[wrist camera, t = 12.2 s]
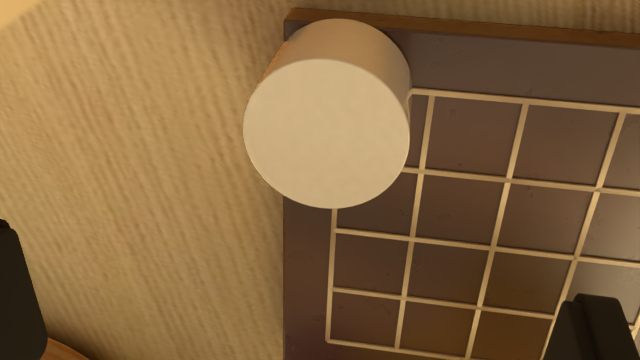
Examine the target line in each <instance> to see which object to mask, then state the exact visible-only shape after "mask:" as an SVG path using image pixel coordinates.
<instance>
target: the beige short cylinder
mask: <svg viewBox="0 0 640 360" xmlns="http://www.w3.org/2000/svg"><path fill="white" fill-rule="evenodd" d="M412 92H413V86H412V77H411V73H410V69H409V67H408V64H407V61H406V60H405V58H404V56H403V54H402V52H401V51H400V50H399V48H398V47H397V46H396V45H395V44H394V43H393V42H392V41H391V39H390V38H388V37H387V36H386V35H385V34H383V33H382V32H381V31H379V30H377V29H375V28H374V27H372V26H369V25H367V24H365V23H362V22H358V21H355V20H349V19H326V20H321V21H317V22H314V23H311V24H309V25H306V26H304V27H303V28H301V29H299V30H297V31H296V32H295V33H293V34H292V35H291V36H290V37H289V38H288V39H287V40H286V41H285V42H284V43H283V44H282V46H281V47H280V49H279V50H278V52H277V53H276V55H275V56H274V58H273V60H272V61H271V63H270V65H269V66H268V68H267V69H266V71H265V73H264V74H263V76H262V78H261V79H260V81H259V82H258V84H257V86H256V87H255V89H254V91H253V92H252V94H251V96H250V98H249V100H248V102H247V105H246V108H245V111H244V117H243V139H244V143H245V147H246V151H247V153H248V156H249V158H250V160H251V162H252V164H253V166H254V167H255V169H256V170H257V171H258V173H259V174H260V176H261V177H262V178H263V179H264V180H265V181H266V182H267V183H268V184H269V185H270V186H272V187H273V188H274V189H275V190H277V191H278V192H279V193H281V194H282V195H284V196H286V197H288V198H290V199H292V200H294V201H296V202H299V203H301V204H305V205H308V206H312V207H318V208H328V209H336V208H346V207H352V206H355V205H359V204H362V203H364V202H367V201H369V200H371V199H373V198H375V197H376V196H378V195H379V194H381V193H382V192H383V191H385V190H386V189H387V188H388V187H389V186H390V185H391V184H392V183H393V182H394V181H395V179H396V178H397V177H398V175H399V174H400V172H401V170H402V169H403V167H404V165H405V162H406V159H407V156H408V151H409V145H410V128H411V110H412Z"/></svg>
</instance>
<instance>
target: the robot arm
mask: <svg viewBox="0 0 640 360" xmlns="http://www.w3.org/2000/svg"><path fill="white" fill-rule="evenodd" d="M47 342H48V335H47V331H46V328H45V324H44V321H43V318H42V314H41V311H40V308H39V304H38V301H37V298H36V294H35V291H34V288H33V284H32V281H31V278H30V274H29V271H28V268H27V264H26V261H25V258H24V254H23V251H22V248H21V244H20V241H19V238H18V235H17V233H16V231H15V230H14V229H11V228H10V226H9V224H8V223H7V222H6V221H5V220H3V219H0V360H40V359H41V357H42V356H43V354H44V352H45V349H46V347H47ZM543 360H640V356H639V353H638V350H637V348H636V345H635V342H634V339H633V337H632V334H631V331H630V328H629V325H628V323H627V320H626V317H625V314H624V312H623V309H622V306H621V304H620V302H619V300H618V299H617V298H614V297H606V296H598V295H590V294H582V293H578V294H577V295H576V296H575V298H574V300H573V301H563V302H562V304H561V306H560V309H559V312H558V315H557V318H556V321H555V324H554V327H553V330H552V333H551V336H550V339H549V342H548V345H547V348H546V351H545V354H544V357H543Z"/></svg>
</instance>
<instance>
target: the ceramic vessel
mask: <svg viewBox="0 0 640 360" xmlns="http://www.w3.org/2000/svg"><path fill="white" fill-rule="evenodd" d="M40 360H89V359H88V358H86V357H85V356H83V355H82V354H80V353H78V352H76V351H75V350H73V349H71V348H69V347H68V346H66V345H64V344H62V343H60V342H57V341H55V340H53V339H51V338H48V342H47V347H46V349H45V352H44V354H43V356H42V357H41V359H40Z"/></svg>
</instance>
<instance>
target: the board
mask: <svg viewBox="0 0 640 360" xmlns="http://www.w3.org/2000/svg"><path fill="white" fill-rule="evenodd" d="M326 19H349V20H355V21H358V22H362V23H365V24H367V25H369V26H372V27H374V28H375V29H377V30H379V31H381V32H382V33H383V34H385V35H386V36H387V37H388V38H390V39H391V41H392V42H393V43H394V44H395V45H396V46H397V47H398V48H399V50H400V51H401V52H402V54H403V56H404V58H405V60H406V61H407V64H408V67H409V69H410V73H411V77H412V86H413V92H412V110H411V128H410V145H409V151H408V156H407V159H406V162H405V165H404V167H403V169H402V170H401V172H400V174H399V175H398V177H397V178H396V179H395V181H394V182H393V183H392V184H391V185H390V186H389V187H388V188H387V189H386V190H385V191H383V192H382V193H381V194H379V195H378V196H376V197H375V198H373V199H371V200H369V201H367V202H364V203H362V204H359V205H355V206H352V207H346V208H336V209H328V208H318V207H312V206H308V205H305V204H301V203H299V202H296V201H294V200H292V199H290V198H288V197H286V196H284V195H283V360H543V357H544V354H545V351H546V348H547V345H548V342H549V339H550V336H551V333H552V330H553V327H554V324H555V321H556V318H557V315H558V312H559V309H560V306H561V304H562V302H563V301H573V300H574V298H575V296H576V295H577V294H578V293H582V294H590V295H598V296H606V297H614V298H617V299H618V300H619V302H620V304H621V306H622V309H623V312H624V314H625V317H626V320H627V323H628V325H629V328H630V331H631V334H632V337H633V339H634V342H635V345H636V348H637V350H638V353H639V356H640V34H631V33H618V32H605V31H592V30H579V29H565V28H552V27H539V26H526V25H513V24H500V23H487V22H474V21H461V20H448V19H435V18H421V17H408V16H395V15H382V14H369V13H356V12H343V11H330V10H317V9H304V8H292V9H291V11H290V12H289V14H288V15H287V17H286V18H285V20H284V42H285V41H286V40H287V39H288V38H289V37H290V36H291V35H292V34H293V33H295V32H296V31H297V30H299V29H301V28H303V27H304V26H306V25H309V24H311V23H314V22H317V21H321V20H326Z"/></svg>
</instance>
